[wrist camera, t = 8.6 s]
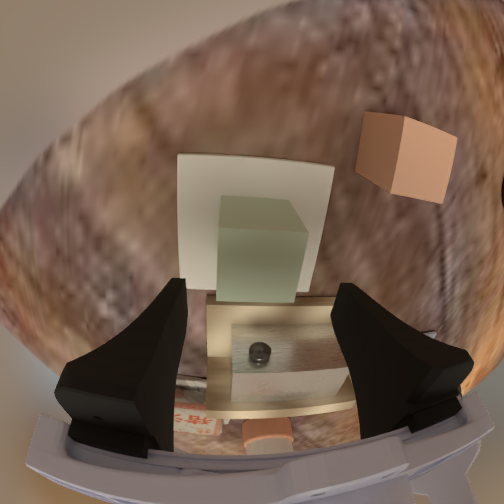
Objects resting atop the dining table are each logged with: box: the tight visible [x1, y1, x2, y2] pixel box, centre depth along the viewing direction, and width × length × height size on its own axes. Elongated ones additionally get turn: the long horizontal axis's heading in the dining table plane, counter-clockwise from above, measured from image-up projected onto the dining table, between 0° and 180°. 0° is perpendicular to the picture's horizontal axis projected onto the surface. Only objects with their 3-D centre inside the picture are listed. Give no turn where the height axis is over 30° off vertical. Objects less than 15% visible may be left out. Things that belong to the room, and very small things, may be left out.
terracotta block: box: [354, 111, 457, 204], centre depth 15 cm, size 4×4×5 cm
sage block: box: [216, 195, 309, 303], centre depth 16 cm, size 4×4×5 cm
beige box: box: [206, 295, 356, 419], centre depth 21 cm, size 13×8×7 cm, turn 85°
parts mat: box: [177, 153, 335, 292], centre depth 19 cm, size 10×10×1 cm
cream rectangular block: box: [229, 323, 349, 403], centre depth 21 cm, size 9×5×5 cm, turn 85°
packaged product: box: [174, 374, 230, 436], centre depth 27 cm, size 18×5×10 cm
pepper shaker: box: [242, 417, 294, 455], centre depth 26 cm, size 7×7×19 cm
